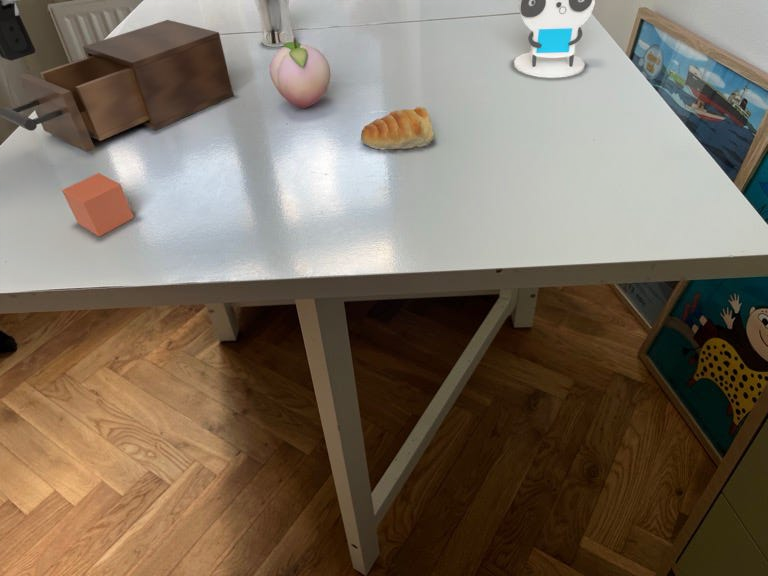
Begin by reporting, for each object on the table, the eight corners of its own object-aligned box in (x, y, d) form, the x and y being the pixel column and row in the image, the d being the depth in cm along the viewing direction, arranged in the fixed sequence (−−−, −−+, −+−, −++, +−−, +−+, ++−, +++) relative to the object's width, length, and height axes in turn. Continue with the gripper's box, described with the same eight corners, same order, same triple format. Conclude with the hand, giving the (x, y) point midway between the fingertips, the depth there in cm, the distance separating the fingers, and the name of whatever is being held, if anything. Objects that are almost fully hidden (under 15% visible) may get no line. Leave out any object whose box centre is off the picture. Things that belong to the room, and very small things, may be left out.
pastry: (369, 158, 71) (368, 130, 68) (355, 136, 75) (353, 109, 73) (438, 144, 73) (438, 117, 70) (419, 124, 77) (419, 97, 75)
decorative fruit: (344, 111, 82) (337, 41, 75) (292, 125, 79) (281, 53, 72) (318, 91, 88) (310, 24, 81) (269, 103, 85) (257, 34, 78)
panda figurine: (512, 77, 89) (523, -28, 79) (508, 53, 97) (518, -45, 87) (589, 77, 87) (611, -30, 77) (578, 52, 96) (596, -47, 86)
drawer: (51, 167, 71) (22, 108, 65) (10, 144, 76) (-20, 88, 71) (171, 114, 81) (154, 60, 76) (127, 98, 87) (109, 46, 81)
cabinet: (155, 130, 79) (132, 62, 73) (107, 110, 85) (82, 46, 79) (233, 95, 88) (219, 32, 81) (184, 80, 94) (167, 19, 87)
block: (99, 237, 60) (82, 202, 57) (77, 223, 62) (61, 189, 59) (134, 218, 63) (120, 184, 60) (112, 205, 65) (98, 172, 62)
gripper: (-156, -146, 52) (-44, 55, 64) (-94, -149, 44) (19, 78, 57) (-70, -154, 56) (19, 36, 68) (-1, -158, 49) (85, 55, 61)
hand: (19, 55), depth 62 cm, fingers closed
